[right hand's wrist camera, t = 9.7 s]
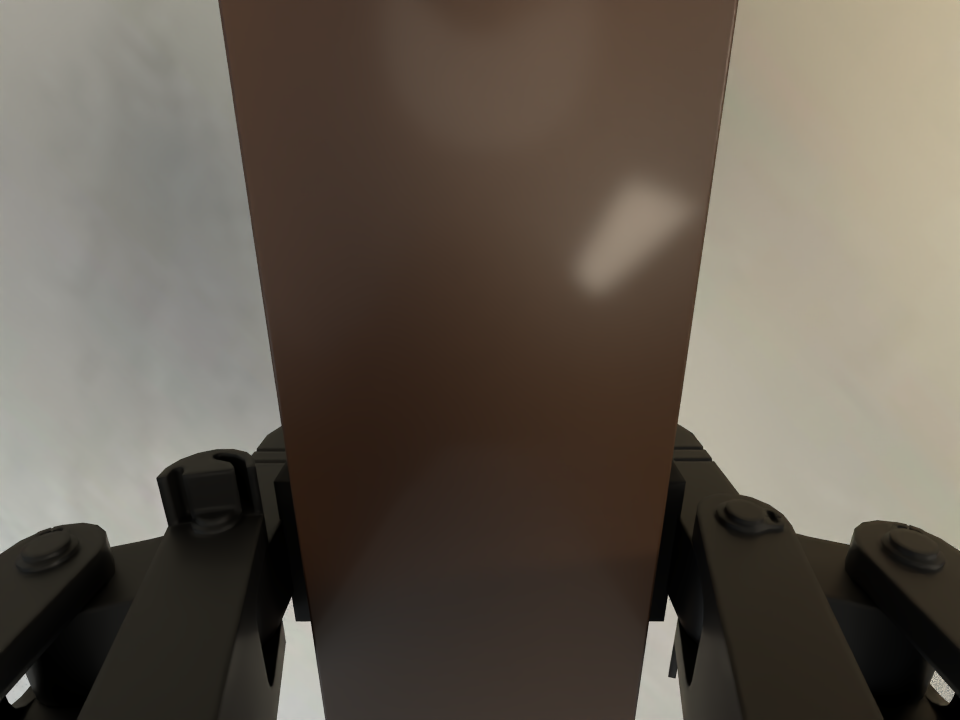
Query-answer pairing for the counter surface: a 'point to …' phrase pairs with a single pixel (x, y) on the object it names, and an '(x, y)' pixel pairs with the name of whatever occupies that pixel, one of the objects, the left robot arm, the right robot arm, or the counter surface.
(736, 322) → the counter surface
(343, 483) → the beam
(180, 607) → the right robot arm
